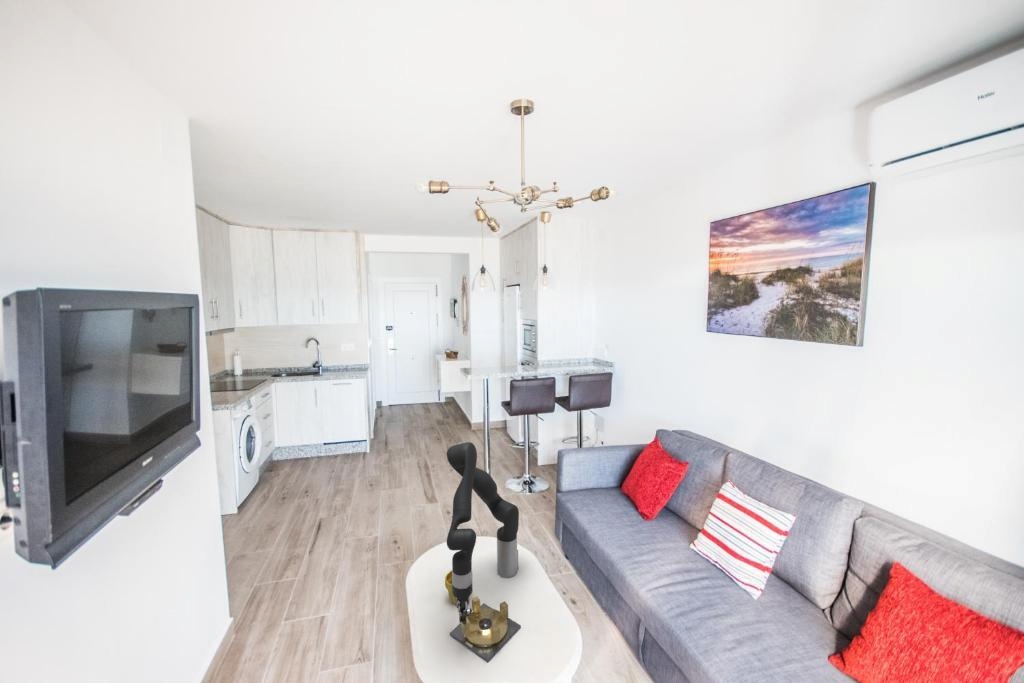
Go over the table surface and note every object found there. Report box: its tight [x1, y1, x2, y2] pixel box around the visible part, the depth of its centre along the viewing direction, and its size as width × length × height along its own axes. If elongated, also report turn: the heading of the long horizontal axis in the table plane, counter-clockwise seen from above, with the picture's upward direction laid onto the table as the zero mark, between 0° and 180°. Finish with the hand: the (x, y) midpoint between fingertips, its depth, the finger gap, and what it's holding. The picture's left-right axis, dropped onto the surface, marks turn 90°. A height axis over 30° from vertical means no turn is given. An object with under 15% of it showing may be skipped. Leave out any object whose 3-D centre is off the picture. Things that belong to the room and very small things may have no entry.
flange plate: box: [449, 602, 522, 663], centre depth 157 cm, size 19×19×1 cm
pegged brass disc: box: [461, 595, 509, 647], centre depth 157 cm, size 19×19×6 cm
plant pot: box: [444, 570, 456, 604], centre depth 174 cm, size 10×10×10 cm
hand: (462, 622), depth 154 cm, fingers closed
